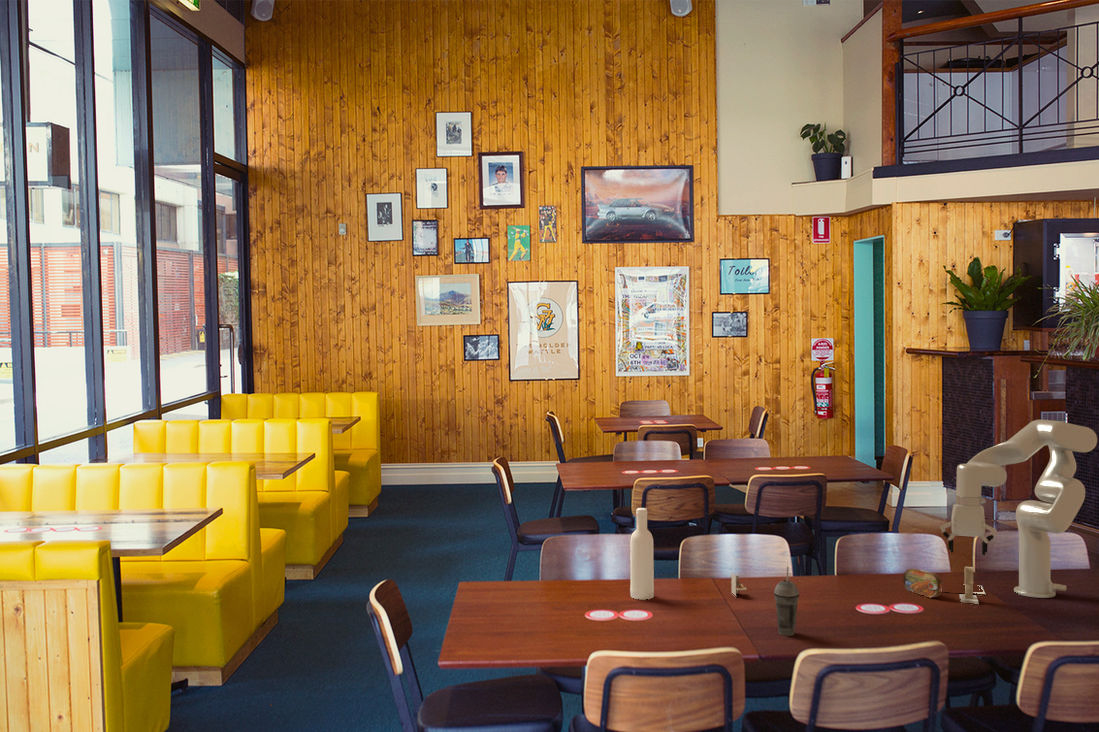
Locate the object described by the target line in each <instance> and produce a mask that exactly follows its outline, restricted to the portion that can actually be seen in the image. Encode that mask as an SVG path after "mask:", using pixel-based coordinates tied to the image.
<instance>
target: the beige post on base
mask: <svg viewBox="0 0 1099 732" xmlns="http://www.w3.org/2000/svg"><path fill="white" fill-rule="evenodd" d="M964 585H965V594H959V599H961V600H960V602H963V603H974V604H978V605H979V599H978V597H977V595H973V585H974V567H973V566H964Z"/></svg>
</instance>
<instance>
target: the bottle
mask: <svg viewBox="0 0 1099 732" xmlns="http://www.w3.org/2000/svg"><path fill="white" fill-rule="evenodd" d="M635 514H636V520H635V521H636V529H635V530H634V531H632V533H631V537H630V543H629V544H630V547H629V548H630V549H629V550H630V551H629V554H630V559H629V560H630V562H629V563H630V586H629V587H630V588H629V591H630V592H629V593H630V598H632V599H633V598H634V600H638V599H639V601H641V600H642V601H647V600H646V599H648V600H651V598H652V599H653V598H654V594H655V588H654V586H655V585H654V578H655V577H654V576H655V575H654V573H655V571H654V567H655V566H654V538H653V535H652V533H651V531H650V530H649V529H648V514H649V513H648V509H647V508H646V507H638V508H636V511H635Z"/></svg>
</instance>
